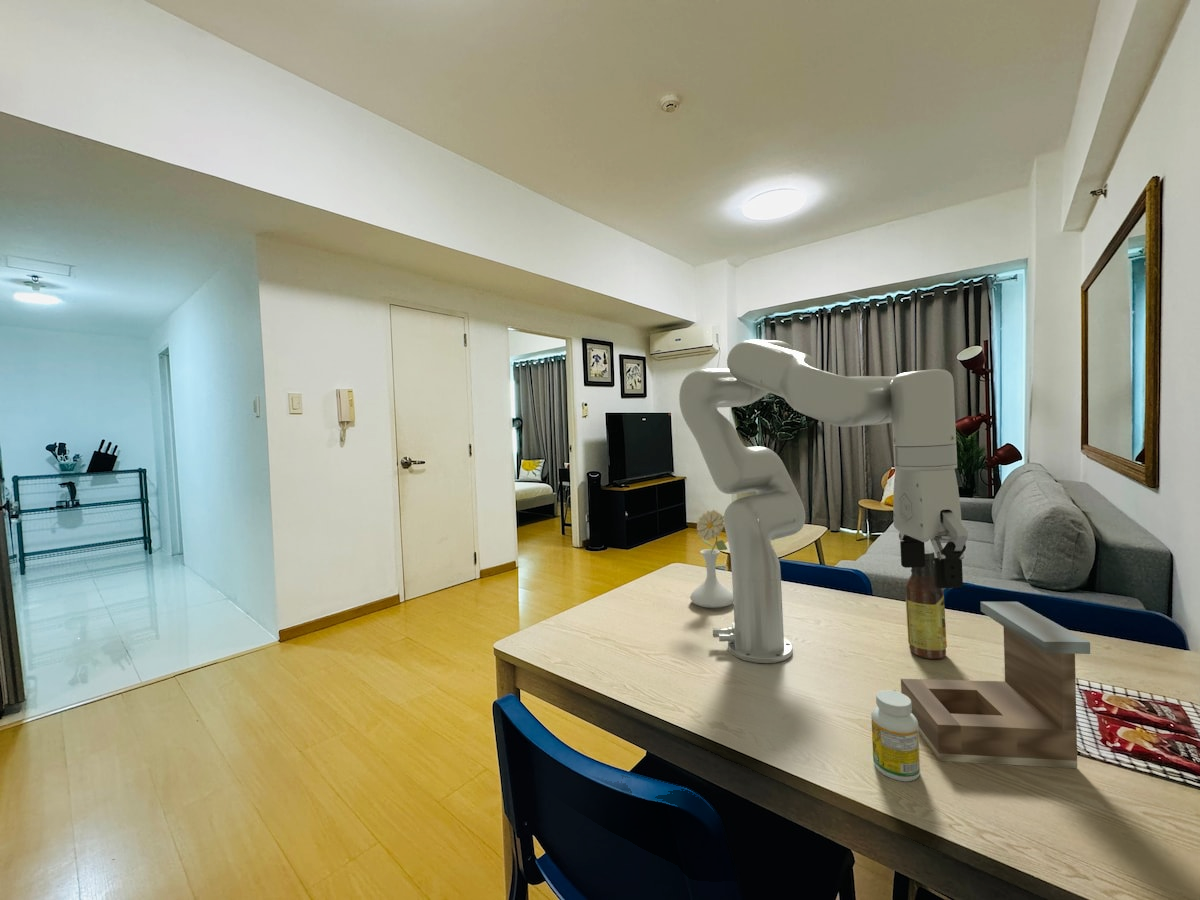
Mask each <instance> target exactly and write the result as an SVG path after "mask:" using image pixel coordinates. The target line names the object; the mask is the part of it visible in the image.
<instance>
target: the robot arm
mask: <svg viewBox="0 0 1200 900" xmlns="http://www.w3.org/2000/svg"><path fill="white" fill-rule="evenodd" d="M726 366H727V368H725V367H724V368H721V367H720V368H719V367H716V368H715V367H713V368H711V367H710V368H703V369H696V370H694V371H692V372H691V373H688V375H686V376H685V378H684V379H683V380H682V382H681V385H680V388H679V394H678V395H679V398H678V399H679V407H680V411H681V412H680V413H681V415H682V417H683V420H684V422H685V424H686V425H687V427H688V429H689V430H690V432H691V434H692V435H693V437H694V438H695V440H696V443H697V445H698V447H699V449H700V452H701V454H702V457H703V459H704V461H705V464H706V467H707V470H708V471H709V474H710V476H711V479H712V480H713V482H714V485H715V486H716V488H717V489H718V491H720V493H723V494H727V495H735V494H743V493H749V492H750V493H751V492H755V493H756V494H753V495H748V496H743V497H739V498H738V499H734V500H733V501H732V502H731V503H730V504H729V505H728V506H727V507H726V509H725V511H724V514H723V516H724V519H723V520H724V523H723V524H724V527H723V528H724V530H725V534H726V539H727V542H728V546H729V547H728V548H729V554H730V555H729V556H730V564H731V565H730V566H731V567H730V568H731V582H732V593H733V603H732V604H733V618H734V620H733V621H732V623H731V624H732V625H731V626H727V627H726V628H725V627H724V628H722V627H712V638H718V639H719V640H718V641H719V642H727V648H728V651H729V652H730V653H731V654H732V655H733V656H734V657H736V658H739V659H740V660H743V661H747V662H750V663H751V662H752V663H758V664H775V663H780V662H784V661H786V660H788V659H789V658H790V657H791V656H792V655H793V653H794V652H793V651H794V650H793V644H792V643H791V642H790V641H789V640H788V639H787V638H785V637H784V636H785V634H784V611H783V592H782V574H781V564H780V560H779V557H778V555H777V553H776V552H775V549H774V548H773V545H772V543H771V541H774V540H778V539H782V538H786V537H789V536H792V535H796V534H797V533H798V532H800V531H801V530H802V529H803V527H804V525H805V522H806V510H805V506H804V504H803V501H802V499H801V497H800V494H799V493H798V491H797V488H796V486H795V484H794V483H793V480H792V478H791V476H790V474H789V472H788V470H787V468H786V465H785V464H784V462H783V460H782V459H781V458H780V456H779V455H778V453H776V452H775V451H774V450H772V449H770V448H769V447H765V446H745V445H744V444H743V442H742V440H741V439H740V437H739V435H738V433H737V430H736V428H735V427H734V425H733V424H732V422H731V421H730V420H729V419H728V418H727V417H726V416H724V414H722V413H721V412H720V411H719V410H718V408H719V409H720V408H735V407H738V408H740V407H746V406H748V405H752V404H754V403H756V402H757V401H758V400H760V399H762V398H764V397H765V396H767V395H768V394H770V393H771V394H774V395H776V396H779V397H780V398H782V399H784V401H785V402H786V403H787V404H788V405H789V407H791V408H792V409H793V410H795V411H797V412H798V413H800V414H802V415H805V416H807V417H810V418H812V419H815V420H818V421H821V422H823V423H825V424H828V425H832V426H834V427H842V428H851V427H859V426H862V427H863V426H876V425H883V424H890V423H892V424H891V428H892V445H893V447H892V450H893V467H894V469H895V471H894V479H893V493H892V494H893V495H892V496H893V498H892V500H893V502H892V503H893V506H892V507H893V511H892V512H893V516H892V517H893V518H892V520H893V527H894V528H895V529H896V530H897V531H898V532H899V533H898V538H899V545H900V563H901V566H902V567H903V568H905V569H908V568H911V567H924V566H925V549H926V548H925V543H927V542H928V541H929V540H930V543H931V545H932V547H933V549H934V550H933V551H934V554H935V555H936V557H935V558H934V575H935V586H936V587H938V588H941V589H961V588H963V586H964V581H963V580H964V579H963V574H964V573H963V559H964V558H965V553H964V552H965V551H966V548H967V546H966V542H967V539H968V536H969V533H968V530H967V529H966V527H964V525H963V524H962V508H961V500H960V493H959V484H958V479H957V474H956V469H958V452H957V433H956V432H957V431H956V430H957V429H956V407H955V385H954V383H955V382H954V377H953V375H952V373H951V372H949V371H948V370H947V369H936V368H935V369H924V370H913V371H907V372H902V373H899V374H896V375H894V376H888V375H887V376H885V375H883V376H880V375H879V376H875V375H874V376H870V375H864V376H863V375H862V376H859V375H857V376H846V375H845V376H844V375H840V374H835V373H832V372H829V371H825V370H823V369H819V368H816V363H815V361H814V358H813V357H812V356H811V355H810V354H808V353H804V352H801V351H799V350H795V348H794V347H793V346H792V345H791V344H790V343H788V342H787V341H786V342H785V341H781V340H772V339H771V340H769V339H768V340H767V339H746V340H743V341H741V342H739V343H737V344H735V345H734V346H733V347H732V349H731V350H730V351H729V353H728V355H727V359H726ZM943 544H946V545H945V546H944V547H943ZM911 569H912V568H911Z"/></svg>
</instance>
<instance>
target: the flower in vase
mask: <svg viewBox="0 0 1200 900" xmlns="http://www.w3.org/2000/svg"><path fill="white" fill-rule="evenodd" d="M696 523H697V524H696V531H697V533H696V534H697V536H698V537H700V539H701V541H702V542H703V543H704V544H706V545H708V546H709V547H711V548H706V549H701V550H700V551H699V552H700V554H701V556H702V557H703V560H704V562H705V568H706V578H705V580H704V582H703V583H701V584H700V585H698V586H697V587H696V588H695V589H694V590H693V591H692V592H691V594H690V597H689V598H690V601H692V603H693V604H695V605H696V606H700V607H703V608H710V609H718V608H719V609H720V608H724V607H727V606H731V605H732V604H734V603H733V591H732V590H731V589H730V588H728V587H727V586H726V585H724V584H722V582H720V581H719V580H718V578H717V573H716V563H717V557H718V556H719V554H720V552H721V551H726V550H727V551H728V548H727V545H726V543H725V541H724V540H722V539H720V540H718V537H719V536H720V533H722V531H723V530H724V528H725V527H724V515H722V513H720V512H718V511H717V510H715V509H713V510H711V511H710V510H707V511H706V512H703V513H702V515H701V516H699V517H698V521H697V522H696ZM711 539H714V540H715V542H714V545H713V544H712V543H711V542H710V540H711ZM715 547H716V548H717V549H715Z"/></svg>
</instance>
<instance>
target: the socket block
mask: <svg viewBox="0 0 1200 900" xmlns="http://www.w3.org/2000/svg"><path fill="white" fill-rule="evenodd" d="M980 612H982V613H983V614H984V615H986V616H987V617H989V618H990V619H992V620H994V621H995V622H996V623H998V624H1000V625H1001V626H1002V627H1003V654H1004V681H1003V680H1001V681H999V680H998V681H997V680H996V681H994V680H969V679H968V680H961V679H933V678H932V679H926V678H922V679H921V678H920V679H919V678H900V690H901V691H900V693H902V694H904V695H906V696H907V697H909V698H910V700H911V704H912V712H911V713H912V714H913V715H914V716H915V717H916V719H917V721H918V729H919V736H921V738H922V739H923V741H924V742H925V744H926V745H927V746H928V747H929V749H930V750H931V752H932V754H933V755H934V756H935V757H936V759H937V760H938V761H940V762H953V763H954V762H957V763H972V764H973V763H974V764H975V763H976V764H990V765H991V764H993V765H995V764H996V765H1008V766H1009V765H1012V766H1013V765H1014V766H1026V767H1027V766H1031V767H1046V768H1048V767H1049V768H1067V769H1078V735H1077V734H1078V733H1077V731H1078V730H1077V729H1078V728H1077V696H1076V695H1077V691H1076V690H1077V688H1076V687H1077V685H1076V679H1077V678H1076V655H1078V654H1079V655H1091V642H1090V641H1089V640H1087V639H1086V638H1083V637H1082V636H1080V635H1078V634H1076V633H1075V632H1073V631H1070V630H1069V629H1068V628H1066V627H1064V626H1061V625H1060V624H1059V623H1056V622H1055V621H1053V620H1051V619H1049V617H1048V618H1047V617H1046V616H1043V614H1040V613H1038V612H1036V611H1035V610H1033V609H1031V608H1029V607H1028V606H1026V605H1025V604H1023V603H1020V602H1019V601H980Z"/></svg>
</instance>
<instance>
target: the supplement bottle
mask: <svg viewBox="0 0 1200 900" xmlns="http://www.w3.org/2000/svg"><path fill="white" fill-rule="evenodd" d="M875 697H876V699H875V703H876V706H874V708H873V709H872V711H871V714H870V715H871V716H870V717H871V734H872V735H871V737H872V738H871V739H872V742H871V743H872V758H873V759H872V760H873V764H874V766H875V768H877V770H878V772H879V773H881V774H883V775H884V776H885V777H888V778H889V779H892V780H895V781H899V782H911V781H914V780H916V779H918V777H919V776H920V774H921V764H920V763H921V760H920V741H919V739H920V738H919V737H920V734H919V729H918V721H917V719H916V717H915V716H914V715H913V714H912V713H911V712H912V704H911V700H910V698H909V697H907V696H906V695H904V694H902V693H901V691H900V692H899V691H896V690H891V689H882V690H878V691H877V693H876V694H875Z"/></svg>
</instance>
